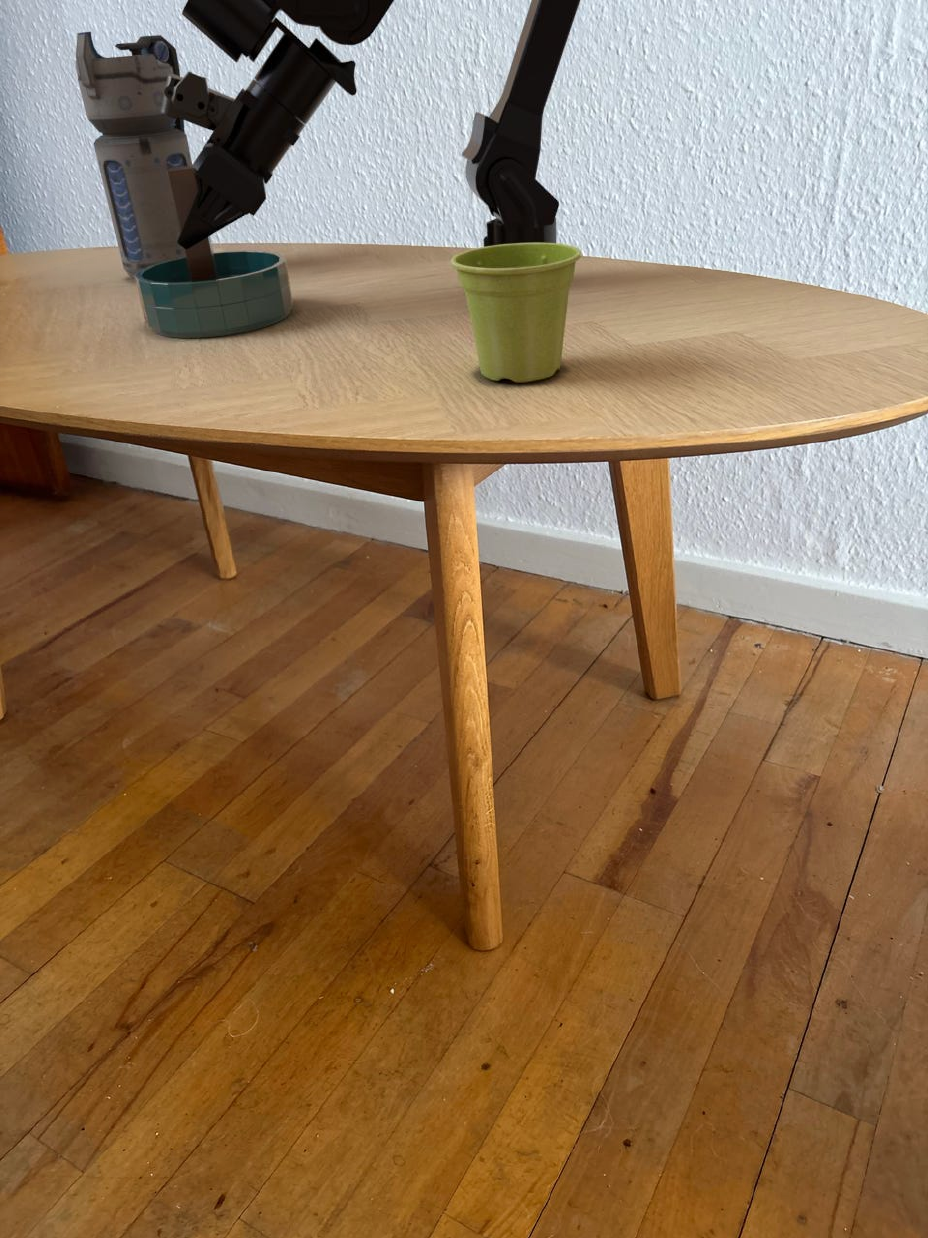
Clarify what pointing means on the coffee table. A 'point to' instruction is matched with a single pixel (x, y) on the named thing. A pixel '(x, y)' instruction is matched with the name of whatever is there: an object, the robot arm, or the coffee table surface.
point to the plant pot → (518, 306)
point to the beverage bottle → (135, 144)
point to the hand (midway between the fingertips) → (182, 243)
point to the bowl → (216, 295)
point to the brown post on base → (184, 196)
